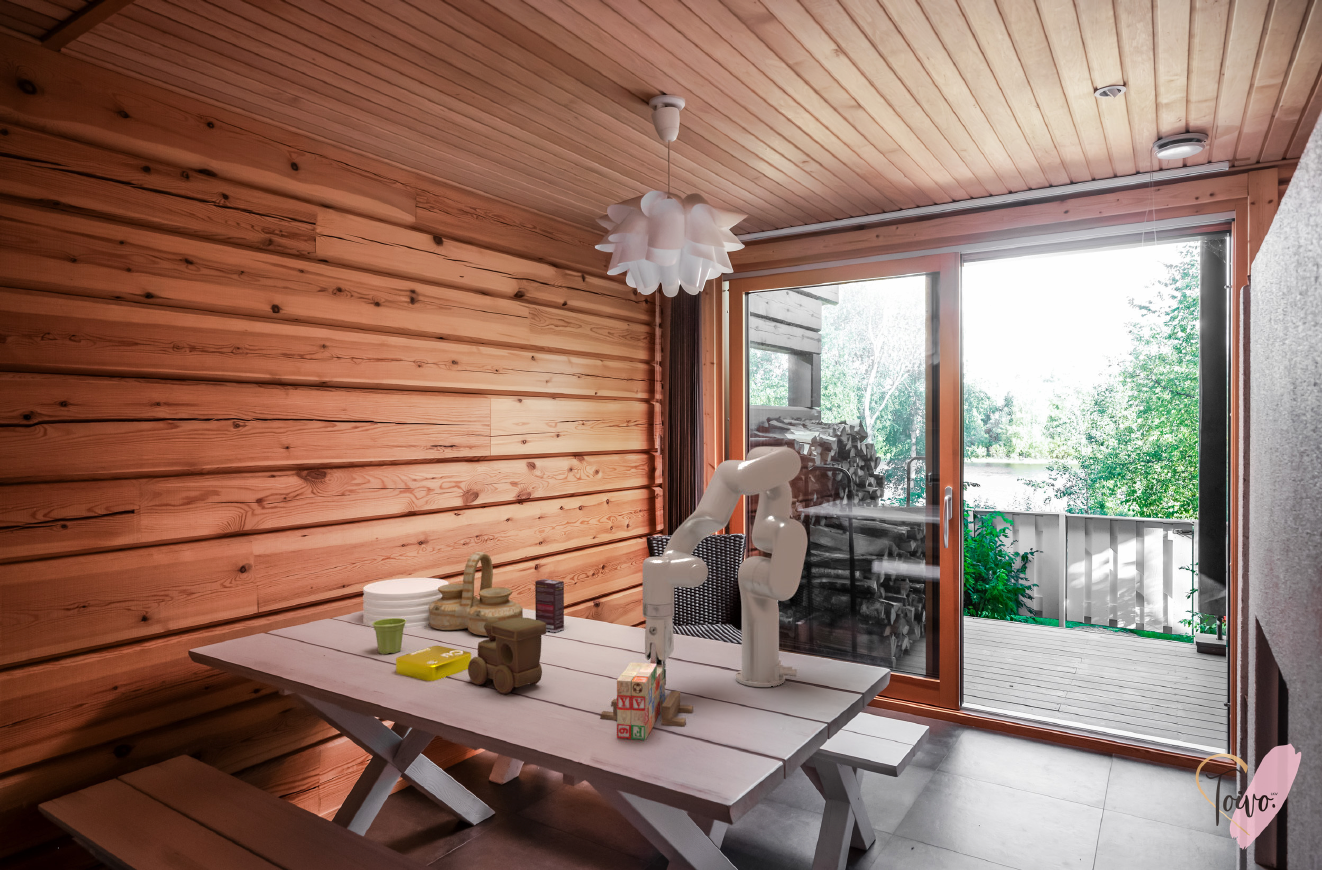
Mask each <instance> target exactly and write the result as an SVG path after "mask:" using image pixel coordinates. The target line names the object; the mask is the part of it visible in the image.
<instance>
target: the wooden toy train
mask: <svg viewBox="0 0 1322 870" xmlns="http://www.w3.org/2000/svg"><path fill="white" fill-rule="evenodd" d="M484 629H485V631H486V633H487V635H488V636H487V639H484V640H481V641H479V642H478V644H477V656H474V657H471V660H470V662H469V665H468V669H467V674H468V678H469V679H470V681H471V682H472V683H473V684H475V685H478V686H481V685H483V684H484V683H485V682H486V681H487V678H488V679H491V680H493V685H494V687H495V689H496V690H497V691H498V692H499V693H500V694H503V695H504V694H505V695H507V694H510V693H511V691H512V690H513V688H519V687H523V686H526V685H534V686H536V685H537V684H538V683H539V682H540V681H541V680H542V676H543V669H542V665H541V663H540V661H541V655H542V653H541V652H542V635H545V634H547V631H546V623H545V622H542V621H539V620H536V618H535V619H534V618H530V617H524V616H523V617H520V618H512V619H508V620H503V621H499V620H498V619H497V618H488V620H487V621H486V623H485V625H484Z"/></svg>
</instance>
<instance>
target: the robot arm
mask: <svg viewBox="0 0 1322 870" xmlns="http://www.w3.org/2000/svg"><path fill="white" fill-rule="evenodd" d="M801 467H802V460H801V457H800V455H799V454H798V452H797V451H796V450H795V449H793V448H792V447H791V448H790V447H788V446H787V447H785V446H756V447H754V448H752V449H750V450H749V452H748V453H747V456H746V459H745V460H742V459H741V460H740V459H739V460H738V459H728V460H727V459H726V460H724V461H722V462H721V463H719V464H718V466H717V467H716V468H715V471H714V473H713V475H712V476H711V479H710V481H709V483H708V484H707V487H706V489H705V491H704V493H703V494H702V497H701V499H700V501H699V504H698V505H697V507H696V509H695V510H694V511H693V513H692V514H690V515H689V516H688V517H687V518H686V519H685V520H684V521H683V522H682V523H681V524H680V525H679V526H678V527H677V529H675V531H674V532H673V533H672V535H671V537H670V539H669V541H668V543H666V546H665V548H664V551H663V553H662V555H661V556H649V557H647V558H645V559H644V560H643V562H642V617H643V618H645V626H644V627H645V631H644V632H645V633H644V634H645V636H644V657H645V659H646V660H647V661H649V662H650V664H657V665H664V678H665V686H666V685H667V682H666V681H667V677H666V676H667V675H666V674H667V669H666V668H667V667H666V666H667V665H666V664H667V660H668V659H669V657H670V656H671V655H672V654H673V652H674V649H675V648H674V647H675V644H674V643H675V642H674V622H673V617H675V587H676V588H697V587H699V586H701V585H703V583H704V582H705V581H707V579H708V576H709V569H708V565H707V564H706V562H705V561H704V560H703V559H702V558H700V557H698V556H695V555H692V554H693V552H694V551H695V549H696V548H697V546H698V545H699V544H700V543H701V542H702V541H703V540H704V539H705V538H707V537H708V536H709V537H710V535H712V534H714V533H717V532H720V531H721V530H722V529H725V527H727V525H728V524H729V521H730V519H731V517H732V515H733V513H734V511H735V509H736V506H737V505H738V503H739V500H740V499H741V497H742V495H743V496H755V495H758V502H757V503H758V504H757V507H756V508H757V509H756V514H755V518H754V522H753V527H752V533H751V542H752V544H753V545H754V547H755V548H757V550H760V551H762V552H764V553H769V554H771V557H765V556H761V555H760V556H759V555H753V556H749V557H747V558H745V560H743V561H742V562H741V564H740V565H739V567H738V571H737V572H738V573H737V581H738V587H739V592H740V601H741V670H738V671H737V672H736V674H735V680H736V681H737V682H738V683H740V684H741V685H745V686H749V687H754V688H770V687H771V686H773V687H778V686H781V685H782V683H783V684H784V683H785V682H786V676H787V677H793V678H794V677H795V678H796V677H797V668H793V666H784V665H783V664H782V660H780V652H779V651H780V611H779V604H778V601H781V602H784V601H788V600H789V599H791V598H792V597H794V595H795V594H796V592H797V590H798V588H799V585H800V582H801V578H802V572H803V569H804V563H805V559H806V553H807V548H808V535H807V530H806V528H805V527H804V525H803V524H802V523H801V522H800V521H798V520H796V519H794V518H790V516H791V510H792V503H793V493H792V489H791V486H790V483H789V482H790V481H792V480H794V479H795V478H796V477H797V476H798V474H799V473H800V470H801ZM784 681H785V682H784ZM780 684H781V685H780ZM777 685H778V686H777ZM771 688H772V687H771Z"/></svg>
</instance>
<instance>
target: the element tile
mask: <svg viewBox="0 0 1322 870" xmlns="http://www.w3.org/2000/svg"><path fill="white" fill-rule="evenodd" d="M471 659H472V652H470V651H466V650H461V649H455V648H451V647H447V646H443V645H432V646H430V647H426V648H423V649H419V650H417V651H413V652H411V653H407V654H404V655H401V656H397V657H396V658H395V673H396V674H397V675H400V676H405V677H409V678H413V679H417V680H420V679H421V681H425V682H435V680H436V681H439V680H438V679H440V680H442V679H445V678H447V677H446V676H448V677H450V675H451V676H453V675H455V674H456V675H457V674H458V673H461V672H464V671H463V670H465V671H467V670H468V665H469V662H470V660H471ZM466 669H467V670H466ZM444 677H445V678H444ZM441 678H442V679H441Z"/></svg>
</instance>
